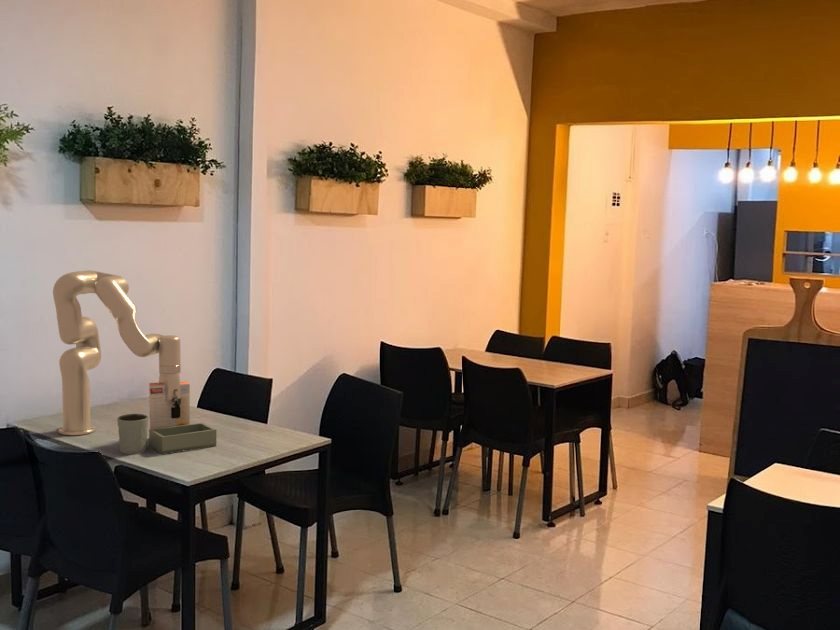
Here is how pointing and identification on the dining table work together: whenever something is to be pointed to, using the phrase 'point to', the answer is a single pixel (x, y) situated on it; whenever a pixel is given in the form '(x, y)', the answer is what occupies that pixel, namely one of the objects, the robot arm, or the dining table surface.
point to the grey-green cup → (132, 433)
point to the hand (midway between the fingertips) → (170, 415)
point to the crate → (182, 438)
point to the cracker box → (168, 406)
